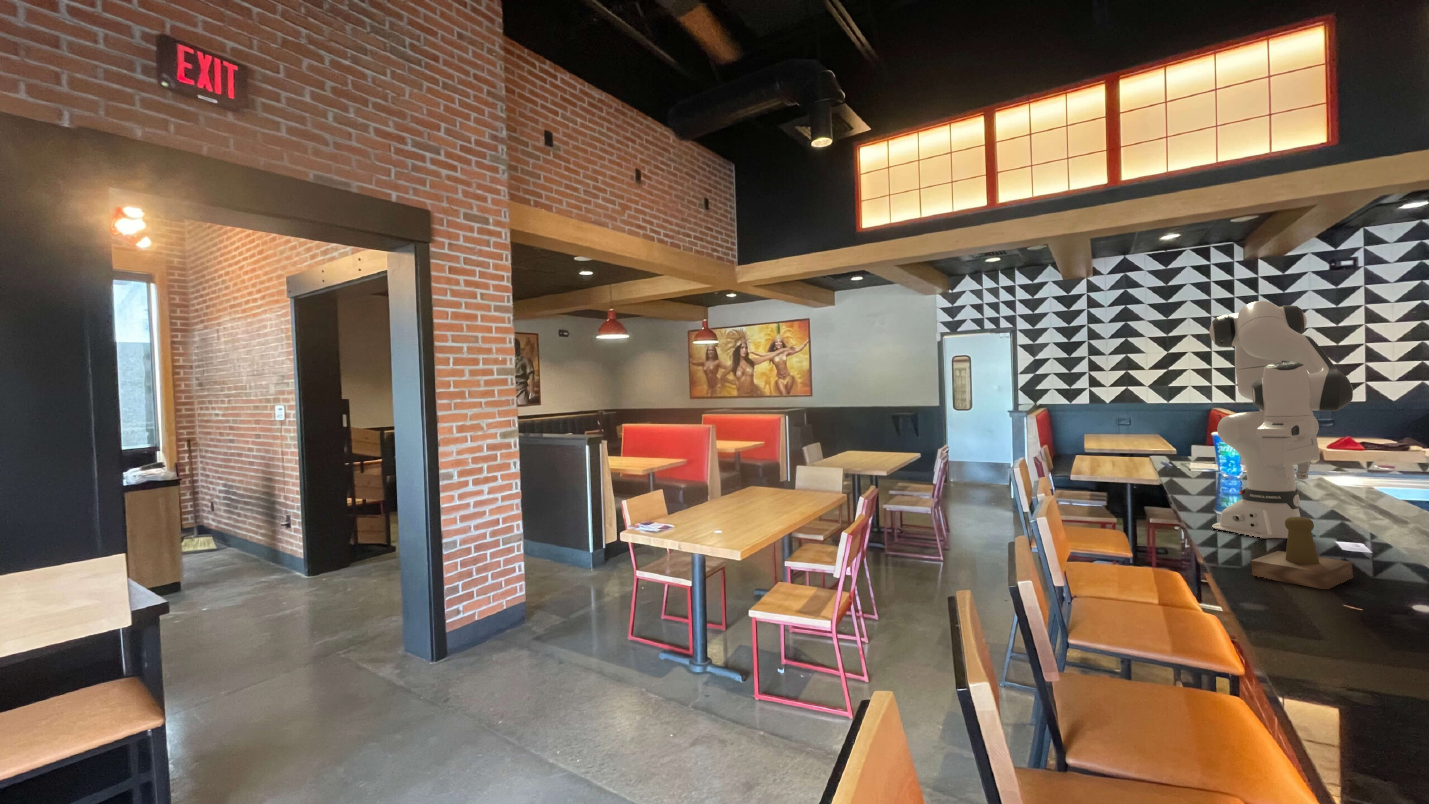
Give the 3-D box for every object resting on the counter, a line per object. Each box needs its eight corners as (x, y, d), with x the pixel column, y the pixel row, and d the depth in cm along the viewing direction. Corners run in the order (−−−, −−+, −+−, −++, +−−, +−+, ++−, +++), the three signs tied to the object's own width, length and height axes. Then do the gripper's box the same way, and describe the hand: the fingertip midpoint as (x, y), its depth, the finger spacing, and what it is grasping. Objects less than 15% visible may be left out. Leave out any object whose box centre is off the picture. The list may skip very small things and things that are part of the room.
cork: (1304, 557, 150) (1300, 514, 150) (1326, 563, 144) (1323, 519, 144) (1278, 558, 150) (1275, 515, 150) (1299, 565, 144) (1296, 520, 144)
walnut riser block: (1252, 575, 150) (1251, 560, 150) (1279, 565, 156) (1277, 550, 156) (1326, 589, 138) (1325, 572, 138) (1353, 578, 144) (1351, 561, 144)
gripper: (1292, 423, 154) (1296, 475, 154) (1253, 430, 146) (1257, 485, 146) (1325, 423, 149) (1329, 477, 149) (1286, 430, 140) (1290, 488, 140)
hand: (1293, 481), depth 147 cm, fingers open, 8 cm apart
